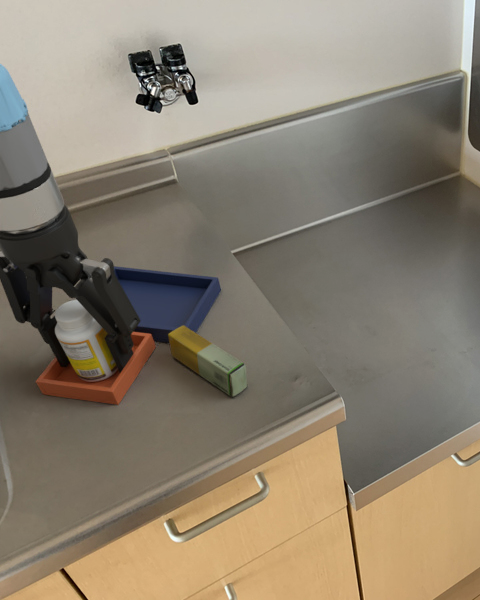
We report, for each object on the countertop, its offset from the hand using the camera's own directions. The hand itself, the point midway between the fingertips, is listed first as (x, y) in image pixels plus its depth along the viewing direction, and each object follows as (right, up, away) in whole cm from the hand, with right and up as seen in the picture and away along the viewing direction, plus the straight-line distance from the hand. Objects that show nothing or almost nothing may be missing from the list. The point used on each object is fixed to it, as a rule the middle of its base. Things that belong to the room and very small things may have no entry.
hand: (98, 363), depth 79 cm
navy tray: (+3, +7, +10) cm, 12 cm away
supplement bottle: (0, -1, +1) cm, 1 cm away
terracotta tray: (0, -1, +1) cm, 1 cm away
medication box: (+14, -1, +1) cm, 14 cm away
